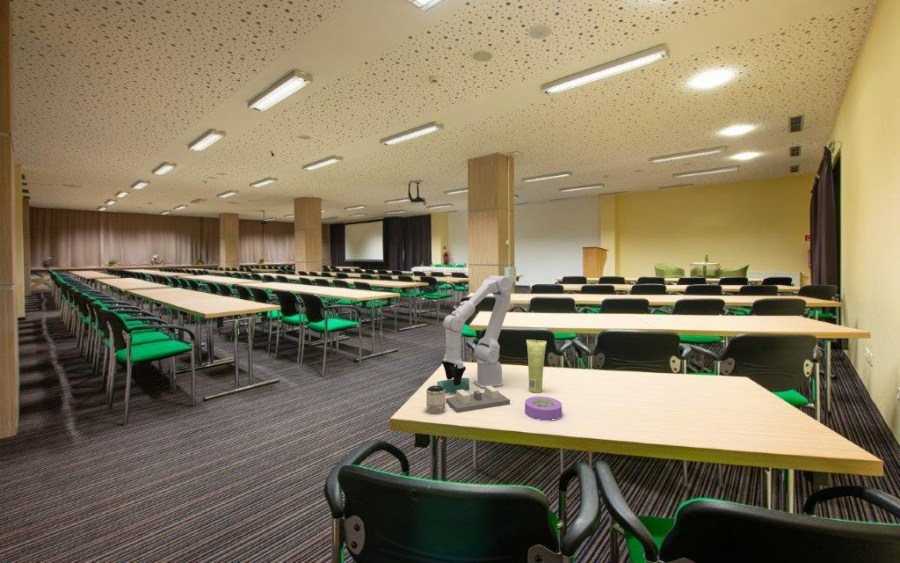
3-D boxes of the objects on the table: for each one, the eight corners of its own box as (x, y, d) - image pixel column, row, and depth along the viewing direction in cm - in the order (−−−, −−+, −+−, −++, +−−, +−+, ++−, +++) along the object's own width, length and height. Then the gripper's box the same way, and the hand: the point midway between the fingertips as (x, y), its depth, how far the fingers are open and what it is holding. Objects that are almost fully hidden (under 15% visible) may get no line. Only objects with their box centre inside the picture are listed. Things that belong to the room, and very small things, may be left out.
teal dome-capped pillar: (467, 387, 153) (467, 377, 153) (470, 389, 150) (470, 379, 150) (436, 391, 148) (436, 381, 148) (438, 394, 146) (438, 383, 145)
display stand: (496, 394, 145) (496, 382, 145) (509, 404, 136) (510, 391, 135) (445, 402, 138) (445, 389, 137) (456, 412, 128) (456, 399, 128)
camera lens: (443, 414, 127) (443, 391, 126) (424, 413, 128) (424, 389, 127) (447, 407, 133) (446, 384, 132) (429, 406, 134) (428, 383, 134)
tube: (537, 387, 153) (538, 338, 151) (546, 391, 148) (546, 340, 147) (525, 389, 150) (526, 339, 149) (534, 393, 146) (534, 342, 144)
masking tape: (568, 413, 128) (568, 402, 127) (549, 424, 119) (549, 412, 119) (537, 404, 136) (537, 393, 136) (517, 414, 128) (517, 402, 127)
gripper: (436, 343, 154) (437, 377, 154) (450, 352, 140) (450, 389, 141) (453, 342, 156) (453, 375, 157) (468, 350, 143) (468, 386, 144)
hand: (453, 382), depth 149 cm, fingers open, 7 cm apart
